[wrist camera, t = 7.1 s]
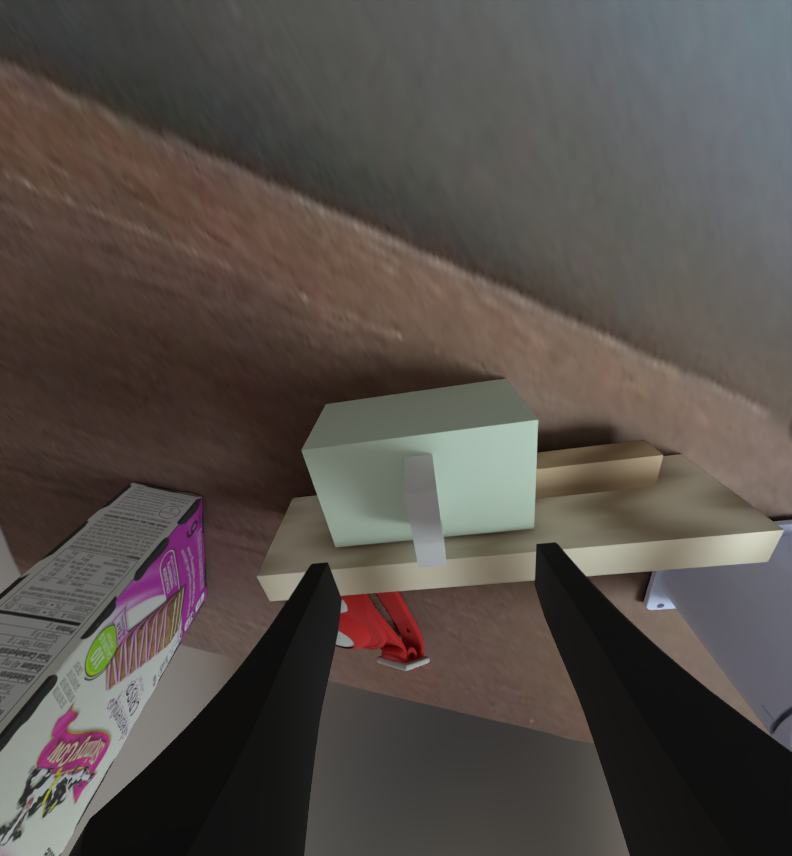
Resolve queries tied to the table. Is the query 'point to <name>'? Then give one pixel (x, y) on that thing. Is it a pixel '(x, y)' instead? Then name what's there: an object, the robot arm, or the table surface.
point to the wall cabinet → (425, 466)
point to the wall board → (551, 529)
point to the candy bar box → (90, 655)
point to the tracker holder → (381, 630)
